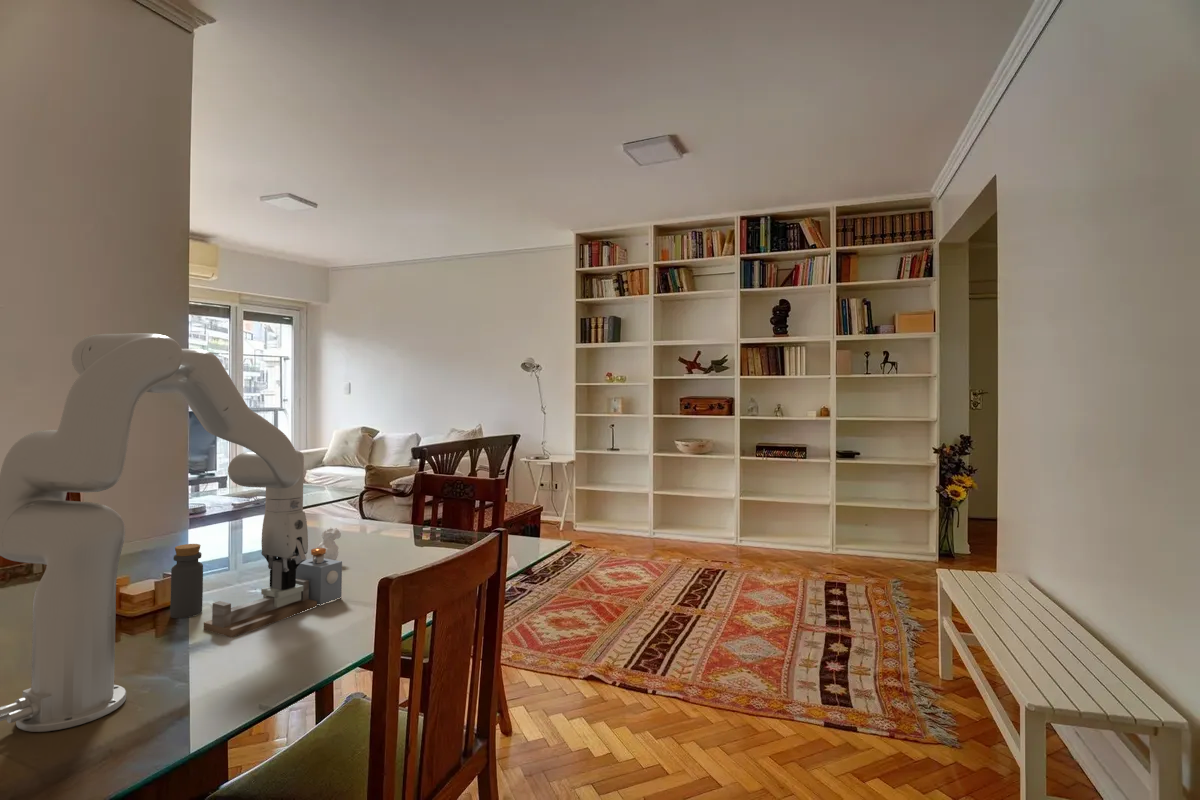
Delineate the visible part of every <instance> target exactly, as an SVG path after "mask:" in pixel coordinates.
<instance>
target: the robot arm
mask: <svg viewBox="0 0 1200 800" xmlns="http://www.w3.org/2000/svg"><path fill="white" fill-rule="evenodd" d="M71 363H72V365H73V366H72V367H73V368H74V370H75V371H76V373H77V374H78V375H79V376H78V377H77V379H75V381H74V383H72V385H71V387H70V389H69V390H68V393H67V395H66V399H65V403H64V406H63V410H62V414H61V418H60V423H59V426H58V429H47V430H45V429H44V430H39V431H33V432H31V433H29V434H26V435H24V436H22V437H21V438H19V439H18V440H16V442H15V443H14V444H13V445H12V446H11V447H10V448H9V450H8V452H7V453H6V455H5V457H4V459H3V461H2V465H1V469H0V557H2V558H4V559H6V560H9V561H13V562H16V563H17V562H19V563H29V564H38V565H40V564H41V565H46V566H45V571H44V572H43V575H42V577H41V579H40V580H39V582H38V584H37V586H36V589H35V591H34V594H33V595H34V597H33V601H32V603H33V604H32V642H31V643H32V644H31V651H32V652H31V659H32V660H31V687H30V688H27V689H24V690H23V689H22V696H21V697H19V698H16V699H15V700H14V702H12V703H9V704H5V705H1V706H0V722H2V721H4V720H6V722H7V723H8V724H12V723H14V722H15V723H16V727H17V728H18V729H20V730H21V731H24V732H32V733H33V732H34V733H35V732H37V733H41V732H42V733H43V732H51V731H58V730H64V729H70V728H74V727H78V726H80V725H83V724H87V723H89V722H93V721H95V720H97V719H100V718H102V717H104V716H106V715H108V714H111V713H112V712H114V711H115V710H117V709H118V708H120V707H121V706H122V705H123V704H124V703H125V701H126V699H127V689H126V688H125V687H124V686H121V685H118V684H115V659H116V649H115V648H116V615H117V611H116V608H117V604H116V603H117V602H116V600H117V597H116V596H117V594H116V593H117V580H118V579H117V578H118V576H117V575H118V571H119V569H118V568H119V563H120V560H121V559H120V558H121V554H122V551H123V550H122V549H123V547H124V542H125V539H126V525H125V521H124V519H123V517H122V516H121V514H120V513H119V512H117V511H116V510H115V509H113V508H112V507H110V506H109V505H105V504H101V503H98V502H92V501H77V500H75V501H74V500H66V499H67V495H68V494H67V493H82V494H83V493H88V494H89V493H98V492H103V491H107V490H108V489H111V488H113V487H114V486H115V485H116V484H117V483H119V481H120V480H121V477H122V475H123V473H124V469H125V463H126V457H127V451H128V447H129V438H130V434H131V433H130V432H131V427H132V421H133V419H134V418H133V417H134V413H135V410H136V407H137V405H138V403H139V401H140V399H142V397H143V396H144V395H145V394H146V393H151V394H153V393H154V394H176V395H177V394H178V395H180V396H181V398H183V400H184V401H185V403H186V404H187V405H188V407H189V409H190V410H191V411H192V413H193V414H194V416H195V417H196V418H197V420H198V421H199V423H200V424H201V426H202V427H203V429H204V430H205V431H206V432H207V433H209V434H211V435H212V436H215V437H217V438H219V439H222V440H225V441H226V442H230V443H232V444H236V445H239V446H240V447H243V448H246V449H248V450H249V451H245V452H242V453H239V454H238V455H237V454H236V456H235V457H233V458H232V459H231V460H230V462H229V463H228V467H227V475H228V477H229V479H230V480H231V481H232V482H233V483H234V484H236V485H238V486H241V487H245V488H265V502H264V503H265V506H264V507H265V509H264V510H265V511H264V515H263V522H262V529H261V552H260V553H261V555H262V556H263V557H264V558H265V560H266V562H267V564H268V565H267V566H268V567H267V568H268V569H269V586H270V587H272V566H273V561H275V560H279V559H283V565H284V572H282V581H281V589H282V590H286V589H289V588H293V587H295V585H296V569H298V566H299V564H300V563H302V562H303V561H305V560H306V559H307V557H306V554H307V553H308V551H309V536H308V535H309V533H308V532H309V531H308V523H307V517H306V516H307V515H306V512H305V511H304V510H303V509H304V476H305V475H304V472H305V471H304V470H305V468H304V467H305V465H304V463H305V458H304V454H303V452H302V451H300V450H296V449H295V447H294V445H293V444H292V442H291V440H290V439H289V438H288V436H287V435H286V434H285V433H284V432H283V431H282V430H280V429H279V428H278V427H277V426H276V425H274V424H272V423H271V422H269V420H267V419H265V418H264V417H263V416H261V415H260V414H258V412H255V411H254V410H252V409H251V408H250V407H249V406H248V405H247V403H246V401H245V399H244V397H243V396H242V395H241V393H240V391H239V390H238V388H237V387H236V385H235V383H234V382H233V379H232V378H231V376H230V375H229V373H228V371H227V370H226V368H225V367H224V365H223V364H222V362H221V359H219V358H218V357H217V356H216V355H215V354H214V353H212V351H208V350H204V349H198V348H182V346H181V345H180V344H179V342H178V341H177V340H176V339H173V338H172V337H169V336H167V335H163V334H159V333H145V332H144V333H139V332H138V333H135V332H134V333H101V334H100V333H99V334H93V335H90V336H89V335H88V336H87V337H84V338H82V339H81V340H79V341H78V342H77V343H76V344H75V345H74V347H73V349H72V352H71ZM290 559H292V561H291V562H290V563H289V560H290Z"/></svg>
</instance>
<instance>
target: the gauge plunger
mask: <svg viewBox="0 0 1200 800" xmlns="http://www.w3.org/2000/svg"><path fill="white" fill-rule="evenodd" d="M325 553H326V548H317V547H315V548H312V549H310V555H311V556H312V558H313V564H321V563H324V554H325Z"/></svg>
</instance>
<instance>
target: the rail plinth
mask: <svg viewBox="0 0 1200 800" xmlns="http://www.w3.org/2000/svg"><path fill="white" fill-rule="evenodd" d="M296 584H299V585H303V586H304V587H303V591H301V600H298V601H295V602H292V603H289V604H286V605H283V606H280V607H274V597H271V596H269V597H265V598H263V597H262V598H259V599H256V600H253V601H249V602H246V603H243V604H240V605H237V606H233V607H232V603H229V602H225V601H221V600H219V601H215V602H212V611H211V612H212V614H211V620H207V621H204V622H203V630H204V631H206V632H209V633H210V632H211V633H215V634H218V635H222V636H225V637H228V638H235V637H238V636H240V635H243V634H245V633H249V632H252V631H254V630H257V629H260V628H263V627H266V626H268V625H272V624H274V623H277V622H279V621H283V620H285V618H286V619H288V618H287V617H289V618H291V617H293V616H292V615H294V614H297V613H300V612H302V611H305V610H307V609H310V608H313V607H315V606H317V601H314V600H310V599H309V580H305V579H300V578H297V579H296ZM300 614H301V613H300ZM297 615H298V614H297ZM290 616H291V617H290ZM294 616H295V615H294Z"/></svg>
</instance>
